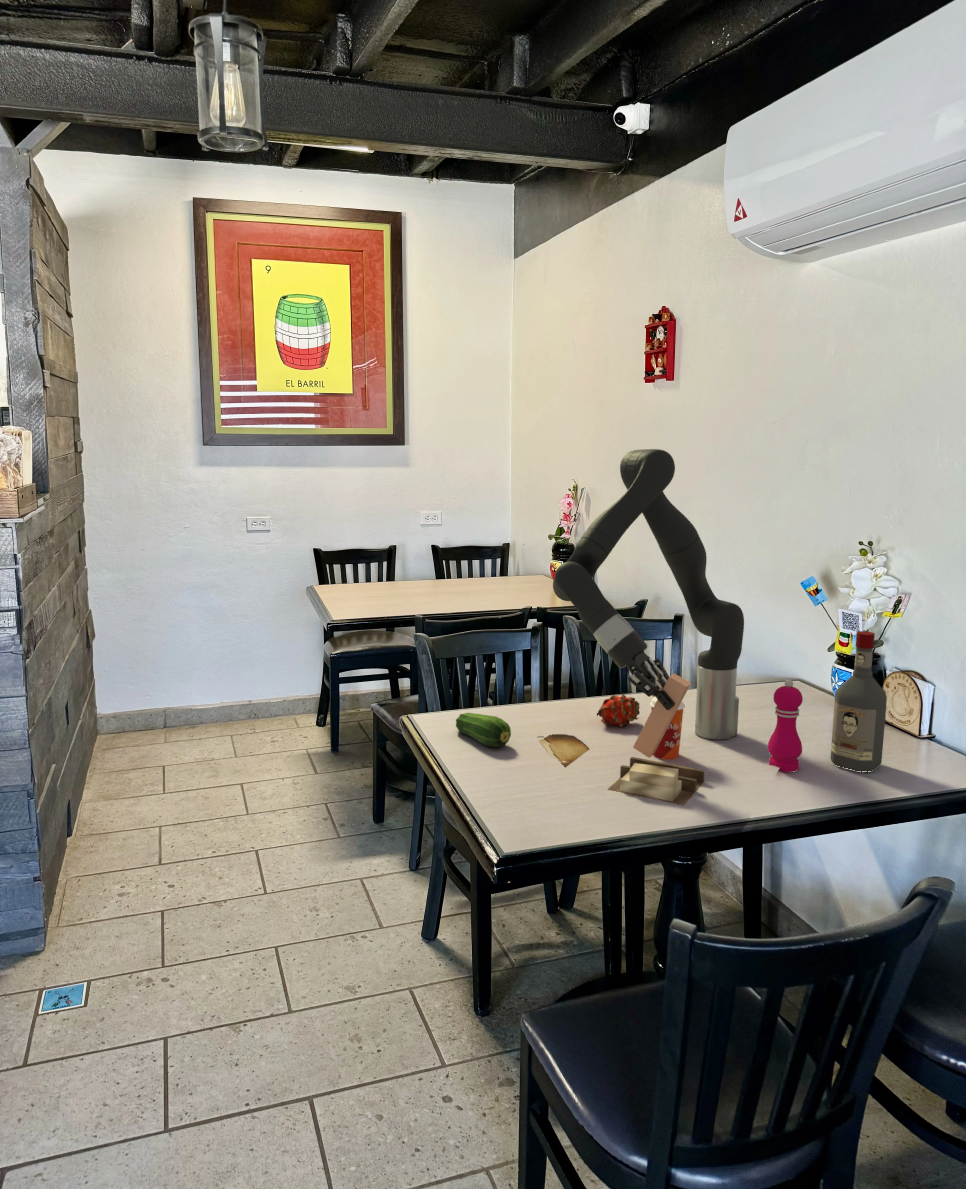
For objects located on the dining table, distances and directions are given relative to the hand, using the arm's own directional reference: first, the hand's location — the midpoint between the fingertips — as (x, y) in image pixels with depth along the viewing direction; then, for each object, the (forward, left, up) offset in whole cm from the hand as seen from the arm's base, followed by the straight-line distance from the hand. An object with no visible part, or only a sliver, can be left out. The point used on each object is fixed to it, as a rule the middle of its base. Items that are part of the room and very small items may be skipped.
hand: (674, 705), depth 182 cm
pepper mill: (-29, -1, -18) cm, 34 cm away
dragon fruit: (-8, -39, -18) cm, 44 cm away
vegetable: (+28, -41, -18) cm, 53 cm away
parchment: (+12, -25, -18) cm, 33 cm away
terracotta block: (+4, -5, -11) cm, 13 cm away
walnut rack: (+4, +1, -18) cm, 18 cm away
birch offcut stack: (+7, +3, -17) cm, 18 cm away
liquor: (-45, +3, -18) cm, 49 cm away
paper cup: (-7, -14, -18) cm, 24 cm away
